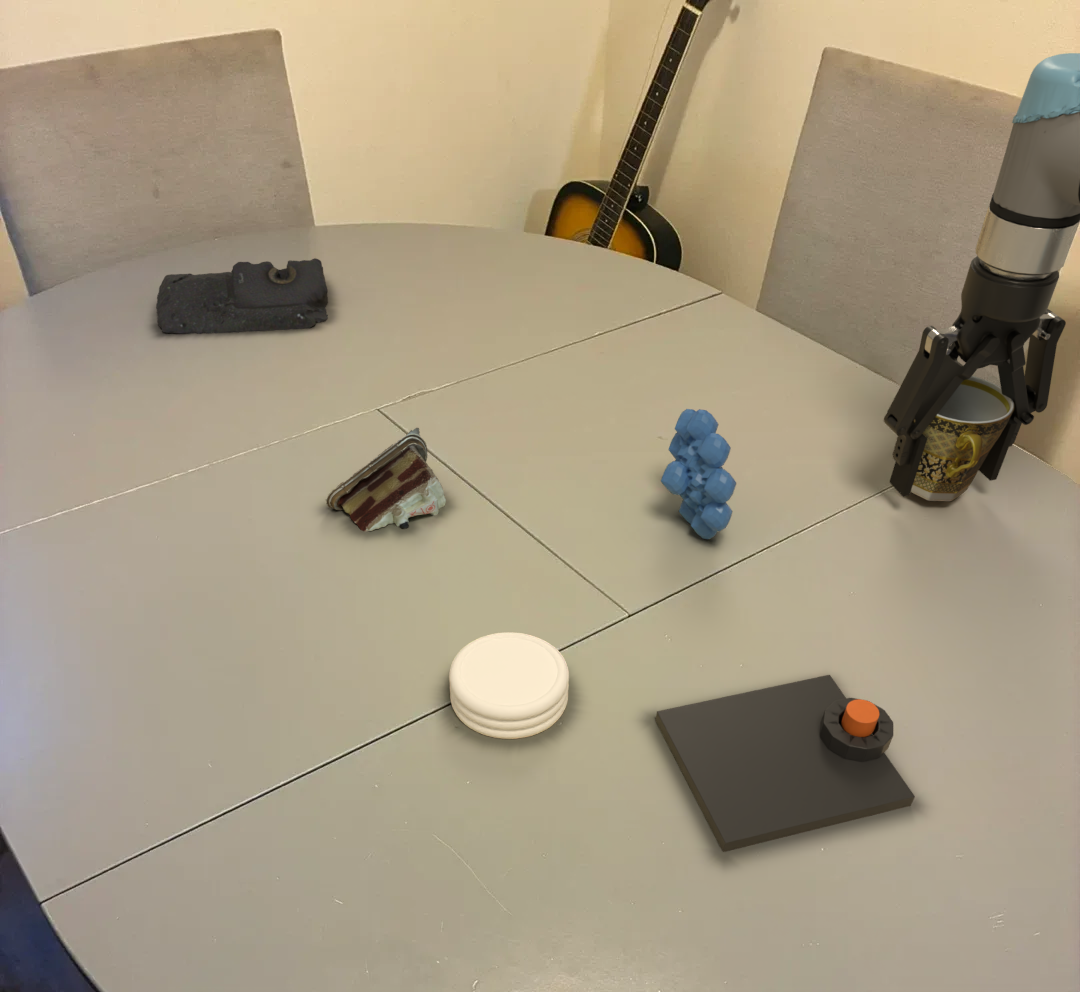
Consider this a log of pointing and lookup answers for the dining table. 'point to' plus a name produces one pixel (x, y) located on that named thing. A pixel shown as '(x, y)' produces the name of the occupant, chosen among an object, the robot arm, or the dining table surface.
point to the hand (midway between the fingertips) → (942, 480)
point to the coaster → (509, 685)
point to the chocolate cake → (391, 487)
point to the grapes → (700, 473)
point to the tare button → (860, 718)
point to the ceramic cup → (961, 439)
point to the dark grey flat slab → (781, 762)
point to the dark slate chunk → (244, 299)
